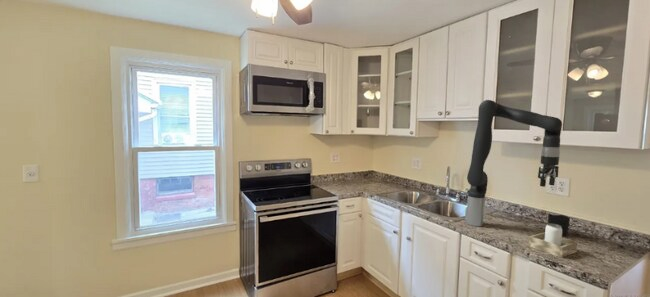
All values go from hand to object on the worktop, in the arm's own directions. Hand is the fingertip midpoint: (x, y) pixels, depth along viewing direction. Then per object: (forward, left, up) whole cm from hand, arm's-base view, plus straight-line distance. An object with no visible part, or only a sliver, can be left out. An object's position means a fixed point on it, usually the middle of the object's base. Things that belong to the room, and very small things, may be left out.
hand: (547, 185), depth 151 cm
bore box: (+9, -10, -29) cm, 32 cm away
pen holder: (-1, +17, -29) cm, 34 cm away
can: (+9, -10, -29) cm, 32 cm away
